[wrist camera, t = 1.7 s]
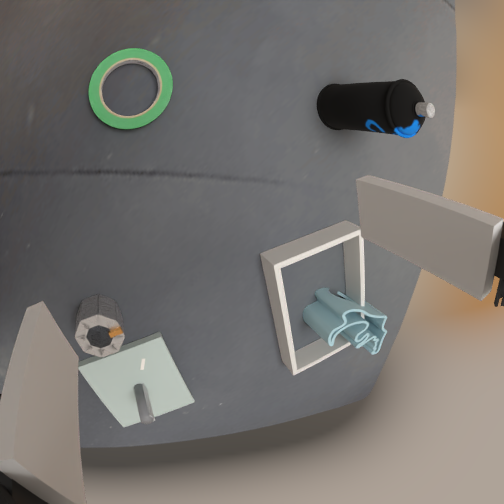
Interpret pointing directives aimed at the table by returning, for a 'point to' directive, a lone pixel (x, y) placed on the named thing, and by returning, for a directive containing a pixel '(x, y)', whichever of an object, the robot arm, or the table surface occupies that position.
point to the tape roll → (127, 57)
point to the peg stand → (137, 381)
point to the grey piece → (95, 336)
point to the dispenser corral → (273, 278)
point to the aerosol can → (374, 107)
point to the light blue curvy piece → (345, 320)
